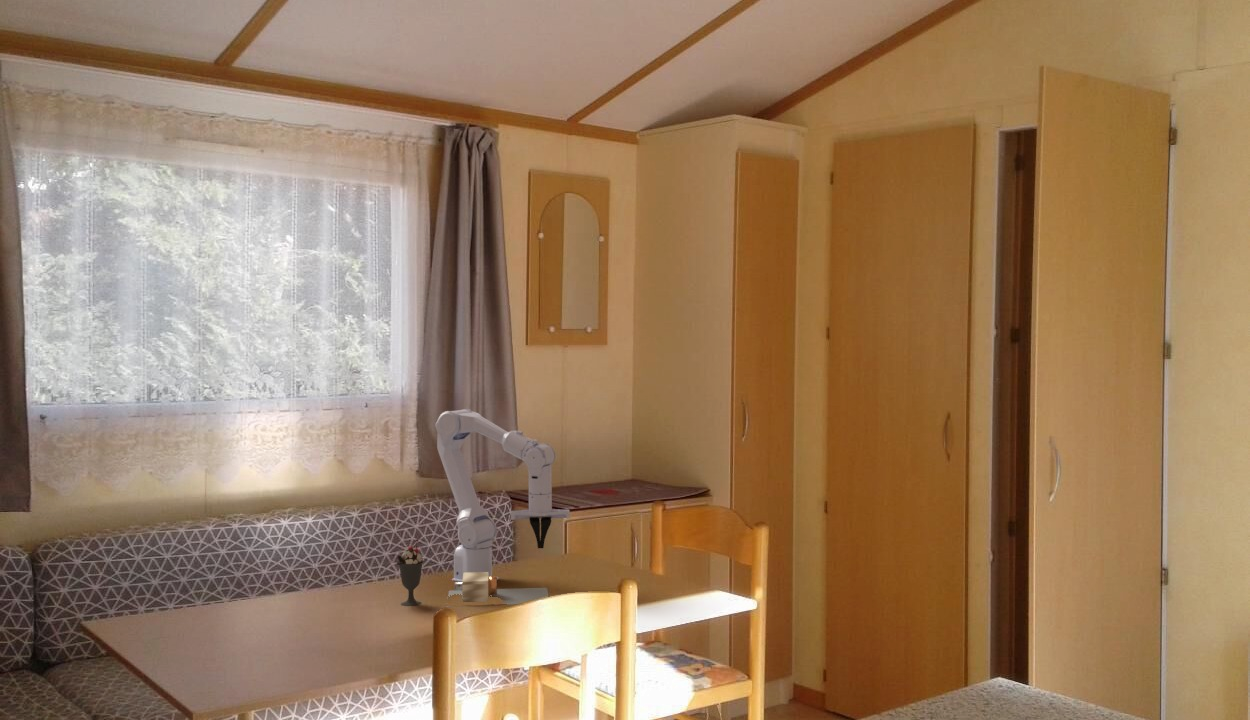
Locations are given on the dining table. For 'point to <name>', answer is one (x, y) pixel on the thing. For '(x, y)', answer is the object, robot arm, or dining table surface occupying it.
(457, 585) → the pin
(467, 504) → the robot arm
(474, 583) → the hitch block
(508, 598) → the mat
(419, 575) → the sundae
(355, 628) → the dining table surface
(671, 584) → the dining table surface
